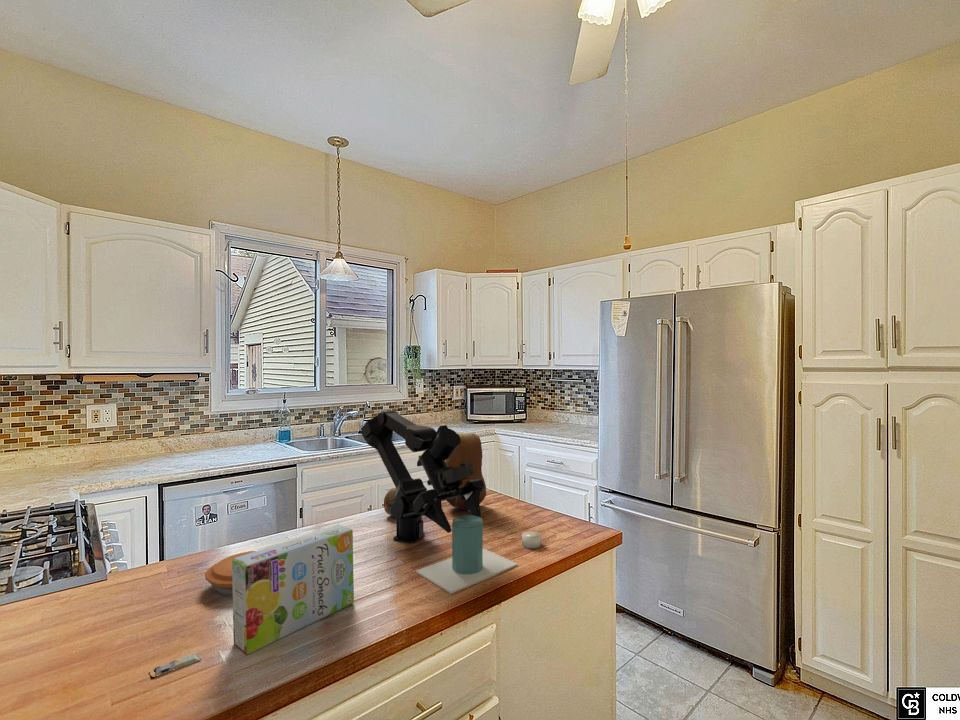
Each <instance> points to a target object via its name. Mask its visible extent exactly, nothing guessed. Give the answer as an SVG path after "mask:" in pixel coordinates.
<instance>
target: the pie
mask: <svg viewBox="0 0 960 720" xmlns="http://www.w3.org/2000/svg"><path fill="white" fill-rule="evenodd" d="M255 551H256V550H251V551H245V552H240V553H235V554H233V555H229V556H227V557H225V558H223V559H221V560H219V561H218V562H216V563H215V564H213V565H211V566H210V567H209V568H208V569H207V570H206V571H205V572H204V578H205V581H207V582H208V583H210V585H211V586H212V588H214V590H215V591H216V592H217V593H219V595H223V596H229V597H230V596H231V597H233V583H232V559H234V558H236V557H240V556H243V555H246V554H249V553H252V552H255Z"/></svg>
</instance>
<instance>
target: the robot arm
mask: <svg viewBox="0 0 960 720" xmlns="http://www.w3.org/2000/svg"><path fill="white" fill-rule="evenodd" d="M456 432H457V431H455V430H453V429H450V428H449V427H448V426H447V424H445V425H439V427H438V428H437V431H436V430H435V428H433V427H430V426H426V425H419V424H416V423H414V422H412V421H411V420H409V419H408V418H406V417H405V416H402V415H400V414H399V413H398V411H395V410H382V411H380V412H379V413H378V414H377V415H376V416H374V417H372V418H370V419H368V420H366V422H365V423H364V425H363V426H362V427H361V436H362V437H363V439H364V440H365V442H366V444H367V445H368V446H370V447H371V448H373V449H375V450H376V451H377V453H378V454H379V457H380V458H381V459H380V460H381V461H382V463H383V464H384V466H385V468H386V471H387V473H388V475H389V476H390V478H391V480H392V482H393V485H394V486H395V487H394V488H396V493H395V502H394V504H393V505H392V507H391V515H390V516H391V517H393V518H395V519H396V525H395V526H396V533H395V534H396V535H395V536H394V537H393V538H392V539H393V540H394V541H400V542H404V543H405V542H407V543H413V544H414V543H417V541H418V540H420V539H421V538H422V537H423V536H425V532H424V520H423V517H424V516H425V517H426V518H428V519H429V520H431V521H433V522H434V523H435V524H437V525H438V526H439V527H440V528H441V529H443V530H444V531H445V532H447V533H448V534H449V533H452V526H451V524H450V522H449V519H448V518H447V516H446V514H445V512H444V509H443V505H442V502H444V501H446V500H448V499H452V498H456V497H460V496H461V498H462V499H463V500H465V502H464V505H465V506H466V507H467V509H468V510H467V511H468V512H469V513H470V515H474V516H478V517H480V518H482V513H481V505H480V504H479V496H480V494H481V493H482V491H483V489H484V488H485V485H486V484H485V485H484V483H483V481H482V480H481V479H475V480H470V481H468V482H467V483H466V484H465V485H464V487H463V488H459V486H460V485H462V483H463V481H462V480H464V479H467V478H468V479H469V478H470V475H471V474H473V473H474V470H473V467H472V465H471V464H470V462H464V463H462V464H461V465H460V466H459V467H455V468H453V467H452V466H451V467H448V465H447V463H446V460H447V459H449V458H450V457H451V455H452V454H453V452H454V451H455V450H456V448H457V447H458V446H459V444H460V442H461V439H460V436H459V434H457V433H456ZM394 433H395V434H397V435H398V436H400V437H401V438H403V440H404V441H405V442H404V445H405V446H406V447H407V449H409V450H410V451H411V452H412V453H418V452H422V454H421V455H418V459H417V463H416V466H417V467H422V468H423V471H424V473H425V474H426V476H427V478H428V480H427V481H426V484H427V486H431V487H432V489H427V487H426V486H425V484H424V483H423V480H422V479H421V478H413V477H412V476H411V474H410V471H409V470H408V468H407V467H406V464H405V462H404V461H403V459H402V457H401V455H400V453H399V452H398V449H397V447H396V446H395V445H394V444H395V443H394V442H393V435H394Z"/></svg>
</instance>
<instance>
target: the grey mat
mask: <svg viewBox="0 0 960 720" xmlns="http://www.w3.org/2000/svg"><path fill="white" fill-rule="evenodd" d="M517 566H519V565H518V563H517V562H515V561H512V560H510V559H508V558H506V557H503V556H502V555H500V554H497V553H495V552H493V551H491V550H488V549H486V548H484V547H483V569H482V570H481V571H479V572H478V573H474V574H460V573H457V572H455V571H454V570H453V569H452V557H449V558H447V559H444V560H442V561H440V562H437V563H434V564H431V565H428V566H425V567H422V568H420V569H417V570H415V573H416V574H418V575H419V576H420V577H422V578H424V579H426V580H427V581H428V582H431V583H432V584H434V585H436V586H437V587H439V588H441V589H442V590H444V591H445V592H447V593H449V594H450V595H452V594H454V593H456V592H459V591H461V590H464V589H466V588H469V587H471V586H473V585H475V584H478V583H480V582H482V581H485V580H487V579H490V578H492V577H494V576H497V575H498V574H501V573H504V572H505V571H506V572H507V571H508V570H510V569H513V568H515V567H517Z"/></svg>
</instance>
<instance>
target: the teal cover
mask: <svg viewBox="0 0 960 720" xmlns="http://www.w3.org/2000/svg"><path fill="white" fill-rule="evenodd" d="M483 522H484V521H483V518H482V517H481V518H480V517H478V516H474V515H472V514H464V515H458V516H456V517H453V518H452V524H451V550H452V551H451V553H452V554H451V558H452V569H453V570H454V571H455V572H457V573H460V574H474V573H478V572H479V571H481V570H482V569H483V548H484V547H483V541H484V539H483V537H484V536H483V527H484V526H483Z"/></svg>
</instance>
